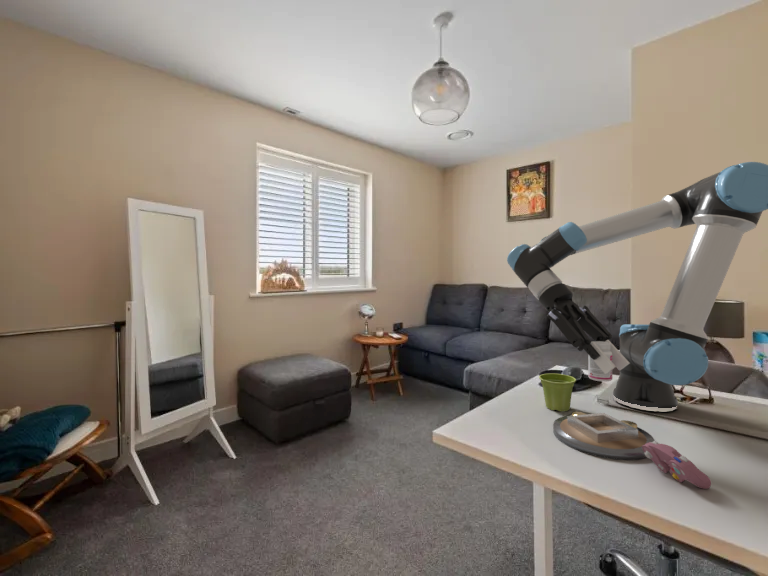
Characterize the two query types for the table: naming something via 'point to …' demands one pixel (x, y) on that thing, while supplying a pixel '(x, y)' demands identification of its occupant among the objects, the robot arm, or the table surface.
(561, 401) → the plant pot
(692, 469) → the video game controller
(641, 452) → the carrier disc
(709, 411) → the table surface
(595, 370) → the pill bottle
